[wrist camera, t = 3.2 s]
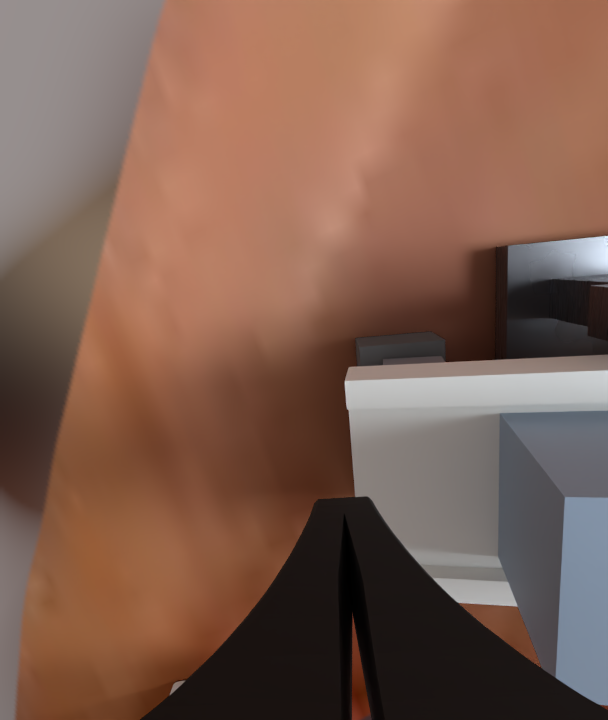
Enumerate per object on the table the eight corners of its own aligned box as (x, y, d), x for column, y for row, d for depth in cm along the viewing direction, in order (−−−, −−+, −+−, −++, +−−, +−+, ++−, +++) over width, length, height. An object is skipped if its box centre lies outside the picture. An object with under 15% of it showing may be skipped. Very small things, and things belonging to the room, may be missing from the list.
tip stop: (430, 331, 16) (444, 339, 14) (435, 490, 18) (448, 516, 16) (355, 337, 16) (359, 347, 14) (366, 494, 18) (371, 520, 16)
